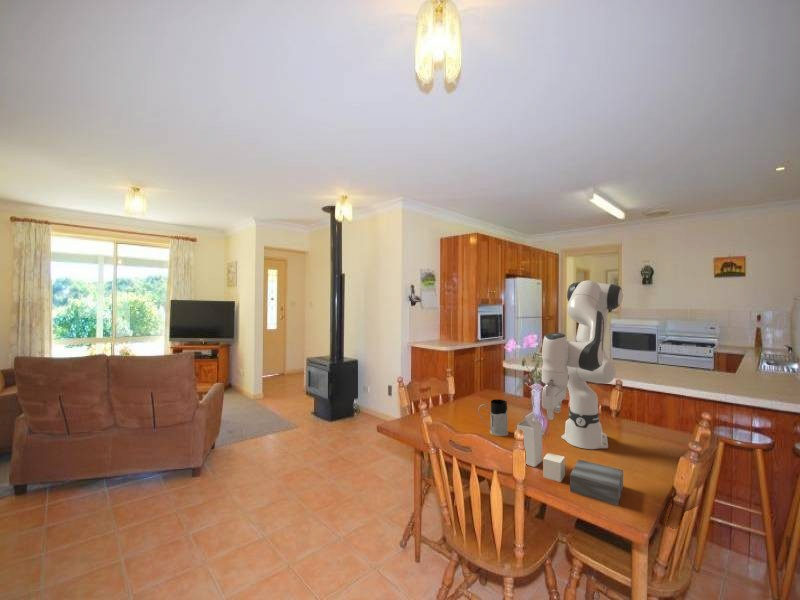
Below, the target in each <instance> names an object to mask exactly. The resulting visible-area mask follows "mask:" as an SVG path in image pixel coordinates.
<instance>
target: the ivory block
mask: <svg viewBox="0 0 800 600" xmlns="http://www.w3.org/2000/svg"><path fill="white" fill-rule="evenodd" d="M542 477H543V479H544V478H545V479H547V480H551V481H555V482H558V483H562V481H563V480H564V478H565V477H566V457H565V456H563V455H559V454H555V453H553V452H552V453H551V452H547V453H546V454H545V456H544V457H542Z"/></svg>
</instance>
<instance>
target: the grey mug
mask: <svg viewBox="0 0 800 600" xmlns="http://www.w3.org/2000/svg"><path fill="white" fill-rule="evenodd" d="M482 406H483V407H486V412H487V413H488V414H490V424H489V423H487V422H486V421H485V420H484V419H483V418H482V416H481V413H480V411H478V415H479V417H480V419H481V421H482V422H483V423H485V424H486V425H487V426H488V427H489V433H490V434H491V435H493V436H497V437H505V436H508V435H509V431H508V425H509V424H508V422H509V421H508V401H506V400H504V399H492V400H490V411H489V408H488V406H487V405H486V404H480V405H479V407H478V410H480V408H481V407H482Z"/></svg>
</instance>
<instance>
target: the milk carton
mask: <svg viewBox="0 0 800 600" xmlns="http://www.w3.org/2000/svg"><path fill="white" fill-rule="evenodd" d="M518 429H521V430H522V431H523V433H524V446H525V450H526V464H527V466H530V467H533V468H535V467H537V466H538V465H540V464H541V463H543V424H542V423H541V422H540V421H539V419H538V418H537V417H536V416H535V414H534V412H533V411H532V412H531V413H529V414H527V415H526V416H524V419H523V420H522V421H520V422H519V423H517V424H516V431H517V430H518ZM526 464H525V465H526Z"/></svg>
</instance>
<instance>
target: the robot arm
mask: <svg viewBox="0 0 800 600" xmlns="http://www.w3.org/2000/svg"><path fill="white" fill-rule="evenodd" d="M566 298H567V302H568V303H567V308H566V309H567V315H568V316H569V317H570V318H571V320H573V321H574V322H576V323H578V327H577V330H576V331H577V332H576V336H575V340H576V341H570V340H568V338H567V335H566V334H564V333H561V332H551V333H550V332H549V333H546V334H545V335H544V337H543V340H542V341H543V342H542V348H541V359H542V367H541V382H542V383H543V384H545V385H544V386H543V388H542V393H541V394H542V395H541V406H542V409H543V410H544V409H545V410H546V414H547V419H548V420H550V421H553V420H554V419H555V413H557V414H559V413H561V410H562V403H563V402H562V401H563V400H564V399H566V396H567V391H568V394H569V409H568V417H569V418H568V419H567V420H566V421H565V426H564V427H565V428H564V429H565V430H564V433H563V434H562V435H561V439H563V440H565V441H566V442H567V443H568V444H569V445H571V446H573V447H576V448H580V449H587V450H597V449H608V448H609V443H608V435H607V434H606V433H604V432H603V427H602V424H601V422H600V413H599V405H598V404H599V399H598V395H597V393H596V392H595V390H593V389H592V388H591V387H590V386H589V385H588V383H593V384H610V383H611V382H613V381H614V379H615V378H616V371H617V370H616V367H615V365H614V363H613V362H612V361H611V360H610V358H608V356H607V354H606V351H605V347H604V346H605V343H604V342H605V336H606V331H607V327H608V326H607V325H608V313H612V311H613V310H616V309H617V308H618V307H620V305H621V304H622V301H623V299H624V294H623V289H622V287H621V286H619V285H617V284H613V283H611V284H608V283H603V282H602V283H601V282H596V281H594V280H589V279H588V280H582V281H581V282H580V281H579V282H573V283H572V284H570V285H568V288H567V290H566ZM587 382H588V383H587ZM567 389H568V390H567Z"/></svg>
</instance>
